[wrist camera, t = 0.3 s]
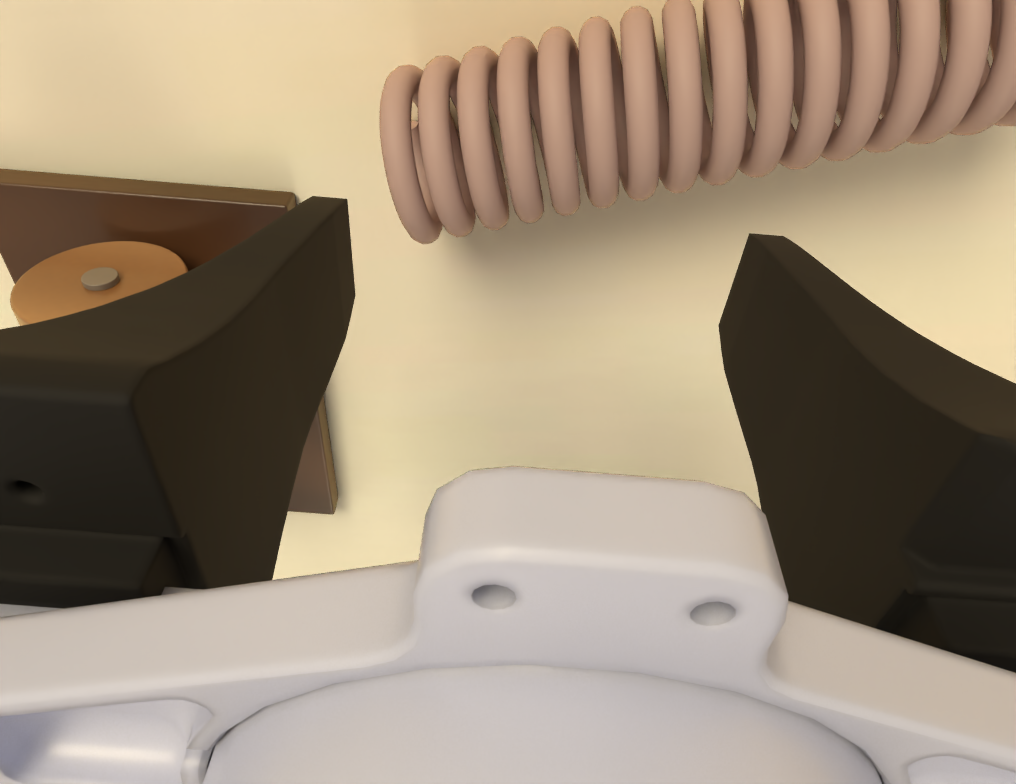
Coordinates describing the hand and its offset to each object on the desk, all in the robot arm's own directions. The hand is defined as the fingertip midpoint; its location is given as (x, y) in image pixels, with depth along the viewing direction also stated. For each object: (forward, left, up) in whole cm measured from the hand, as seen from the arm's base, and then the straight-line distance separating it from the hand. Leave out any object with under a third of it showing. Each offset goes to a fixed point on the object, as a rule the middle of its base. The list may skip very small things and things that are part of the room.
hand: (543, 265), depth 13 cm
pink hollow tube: (+1, -4, -10) cm, 11 cm away
